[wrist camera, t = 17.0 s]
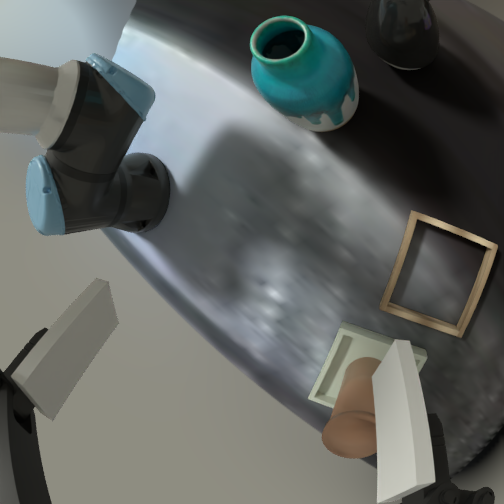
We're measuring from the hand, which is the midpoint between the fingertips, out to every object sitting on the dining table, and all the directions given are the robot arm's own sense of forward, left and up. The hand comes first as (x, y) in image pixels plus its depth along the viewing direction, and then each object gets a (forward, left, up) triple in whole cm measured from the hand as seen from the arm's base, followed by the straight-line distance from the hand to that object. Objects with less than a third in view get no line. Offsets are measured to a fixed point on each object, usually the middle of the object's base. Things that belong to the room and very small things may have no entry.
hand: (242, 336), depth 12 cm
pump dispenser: (+3, +31, -29) cm, 43 cm away
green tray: (+11, -17, -29) cm, 36 cm away
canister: (+11, -17, -28) cm, 35 cm away
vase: (-6, +19, -29) cm, 35 cm away
